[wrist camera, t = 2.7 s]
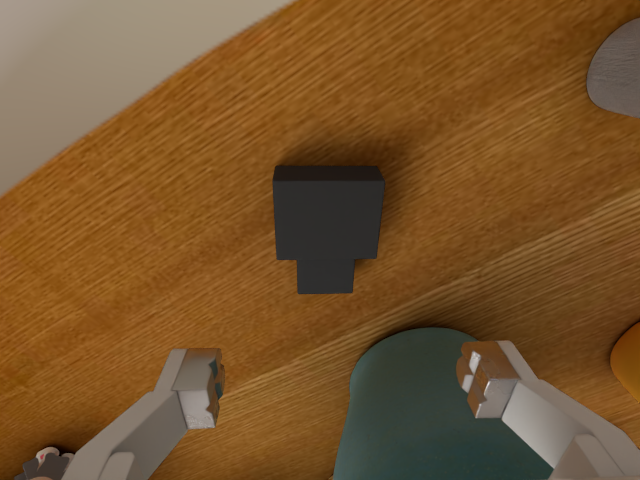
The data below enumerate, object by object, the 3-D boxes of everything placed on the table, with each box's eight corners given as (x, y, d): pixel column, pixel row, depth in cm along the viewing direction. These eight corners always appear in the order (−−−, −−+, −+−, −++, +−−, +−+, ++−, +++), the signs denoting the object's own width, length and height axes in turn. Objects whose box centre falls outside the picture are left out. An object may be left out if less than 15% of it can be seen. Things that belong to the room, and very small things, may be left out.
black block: (275, 165, 21) (272, 180, 18) (377, 165, 21) (385, 180, 19) (280, 276, 25) (278, 299, 22) (365, 275, 25) (372, 298, 23)
